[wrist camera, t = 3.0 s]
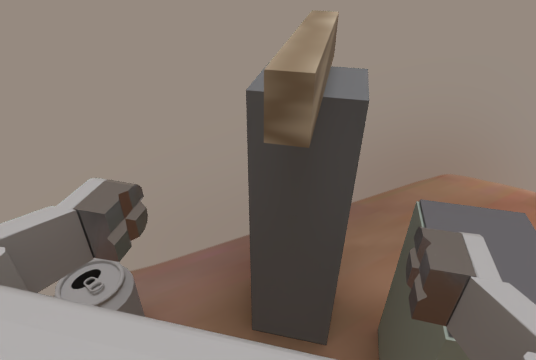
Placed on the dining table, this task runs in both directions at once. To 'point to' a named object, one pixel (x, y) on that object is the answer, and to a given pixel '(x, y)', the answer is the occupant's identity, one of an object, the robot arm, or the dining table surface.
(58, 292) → the can
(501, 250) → the grey block
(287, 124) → the bar
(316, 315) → the pedestal
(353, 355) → the dining table surface
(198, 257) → the dining table surface
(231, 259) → the dining table surface
